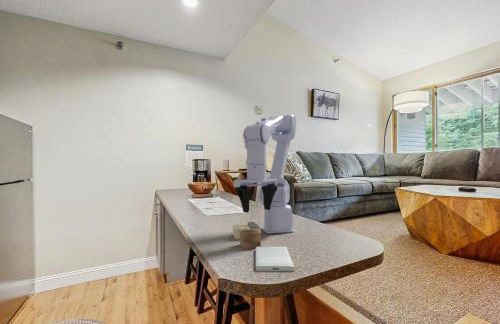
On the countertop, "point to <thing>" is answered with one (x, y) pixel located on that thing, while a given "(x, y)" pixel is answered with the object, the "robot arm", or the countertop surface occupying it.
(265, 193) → the robot arm
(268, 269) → the hard drive
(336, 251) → the countertop surface
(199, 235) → the countertop surface
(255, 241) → the stub block
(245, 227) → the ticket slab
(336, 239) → the countertop surface
